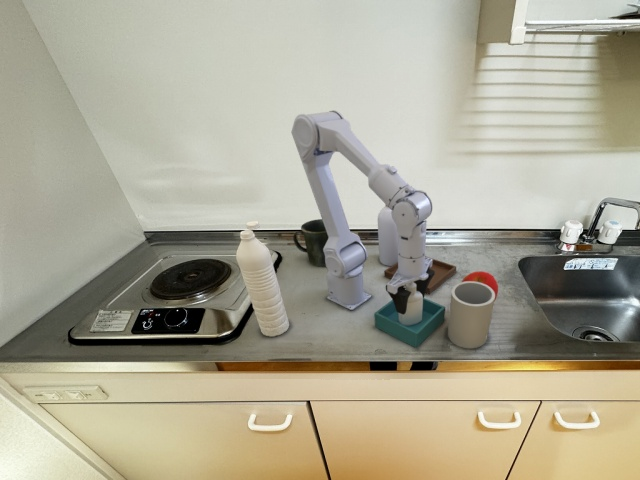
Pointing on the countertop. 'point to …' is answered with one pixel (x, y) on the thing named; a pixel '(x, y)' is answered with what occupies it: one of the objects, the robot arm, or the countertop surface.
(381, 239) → the soap bottle
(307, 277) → the countertop surface
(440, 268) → the tray
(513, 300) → the countertop surface
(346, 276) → the robot arm
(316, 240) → the mug
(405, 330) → the bin
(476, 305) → the cup
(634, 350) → the countertop surface
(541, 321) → the countertop surface
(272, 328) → the water bottle
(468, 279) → the apple
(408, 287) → the eye dropper bottle
